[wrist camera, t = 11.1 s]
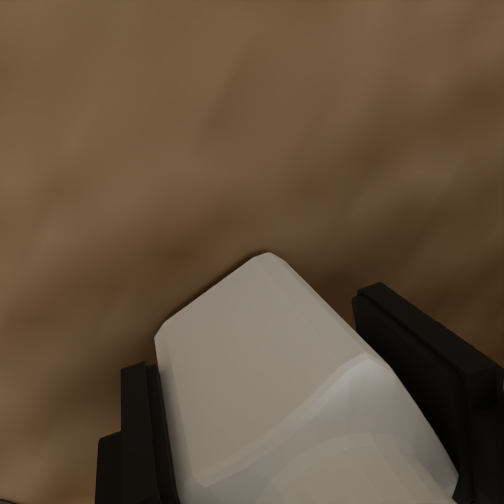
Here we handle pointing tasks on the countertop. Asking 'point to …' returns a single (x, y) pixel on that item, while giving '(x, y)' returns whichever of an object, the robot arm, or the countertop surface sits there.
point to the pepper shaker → (289, 402)
